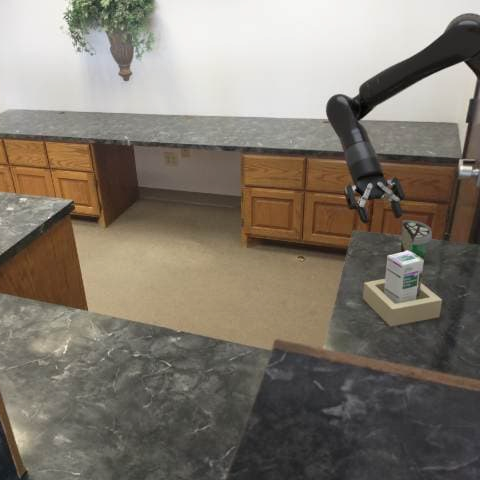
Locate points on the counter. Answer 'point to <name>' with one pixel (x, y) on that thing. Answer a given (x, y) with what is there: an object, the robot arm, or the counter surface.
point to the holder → (401, 305)
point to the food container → (415, 237)
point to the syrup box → (403, 277)
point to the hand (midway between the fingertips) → (383, 219)
